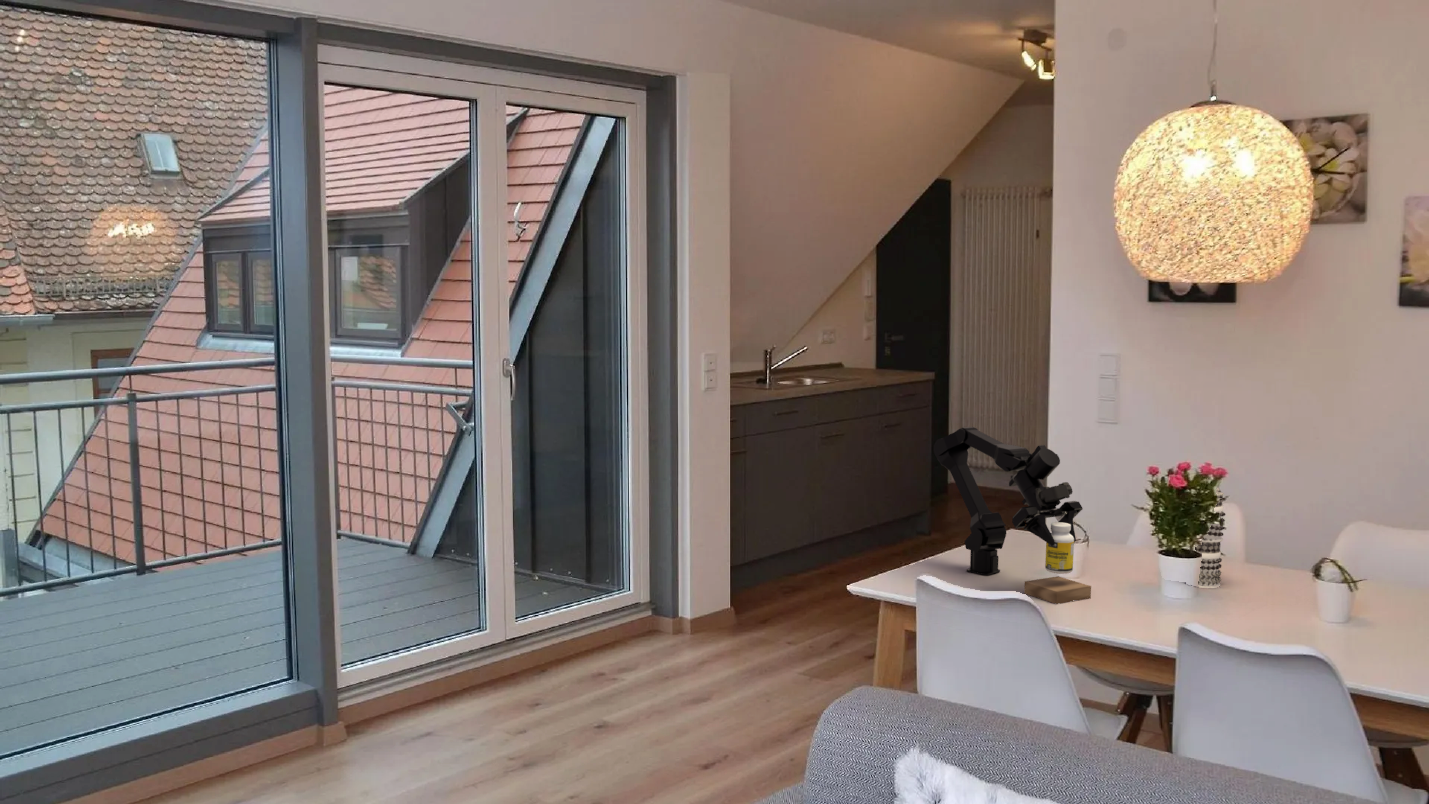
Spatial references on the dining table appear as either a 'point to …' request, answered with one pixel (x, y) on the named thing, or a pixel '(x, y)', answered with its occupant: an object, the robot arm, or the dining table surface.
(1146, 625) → the dining table surface
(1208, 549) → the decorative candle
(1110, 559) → the dining table surface
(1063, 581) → the walnut plinth
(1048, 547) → the pill bottle
